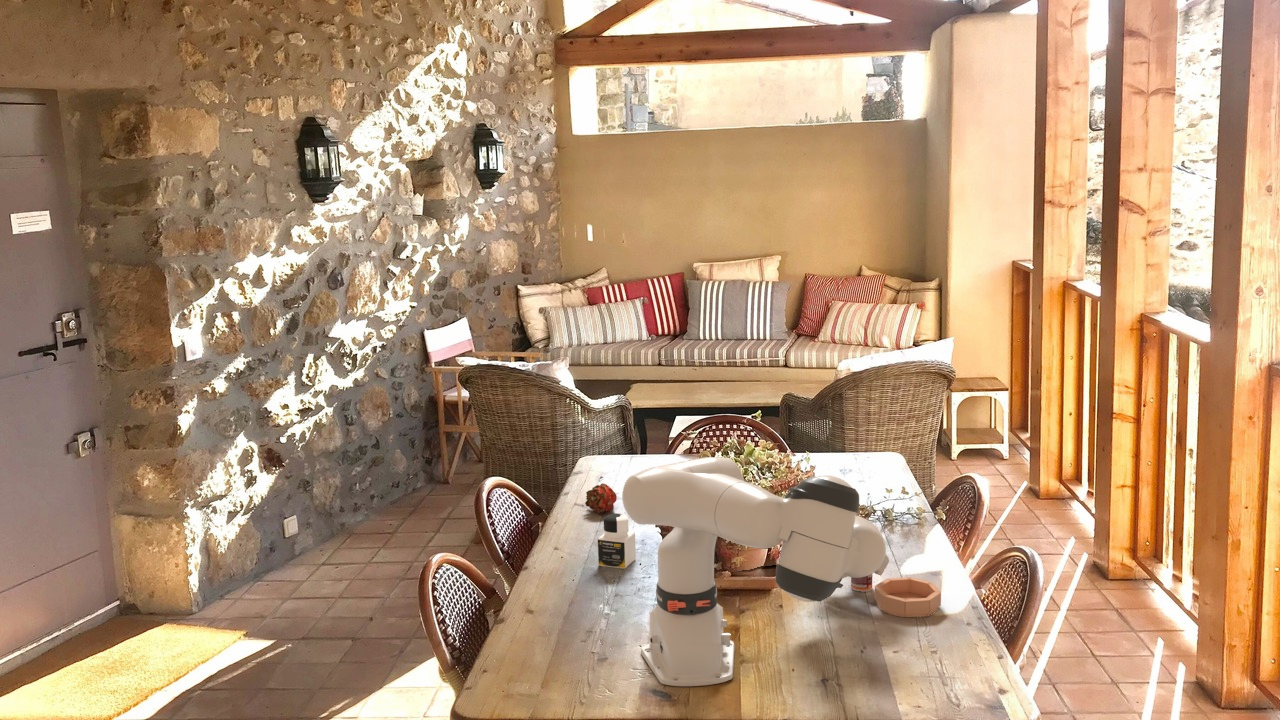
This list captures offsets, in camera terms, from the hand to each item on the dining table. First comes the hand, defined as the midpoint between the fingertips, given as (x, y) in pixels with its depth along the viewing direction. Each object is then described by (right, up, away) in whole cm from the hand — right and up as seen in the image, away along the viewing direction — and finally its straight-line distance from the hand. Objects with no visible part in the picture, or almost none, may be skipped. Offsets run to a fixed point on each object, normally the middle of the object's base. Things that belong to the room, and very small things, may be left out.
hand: (865, 565), depth 247 cm
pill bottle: (0, -6, +2) cm, 6 cm away
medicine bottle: (-56, -4, +22) cm, 61 cm away
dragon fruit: (-62, +4, +62) cm, 88 cm away
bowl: (+7, -7, -9) cm, 13 cm away
